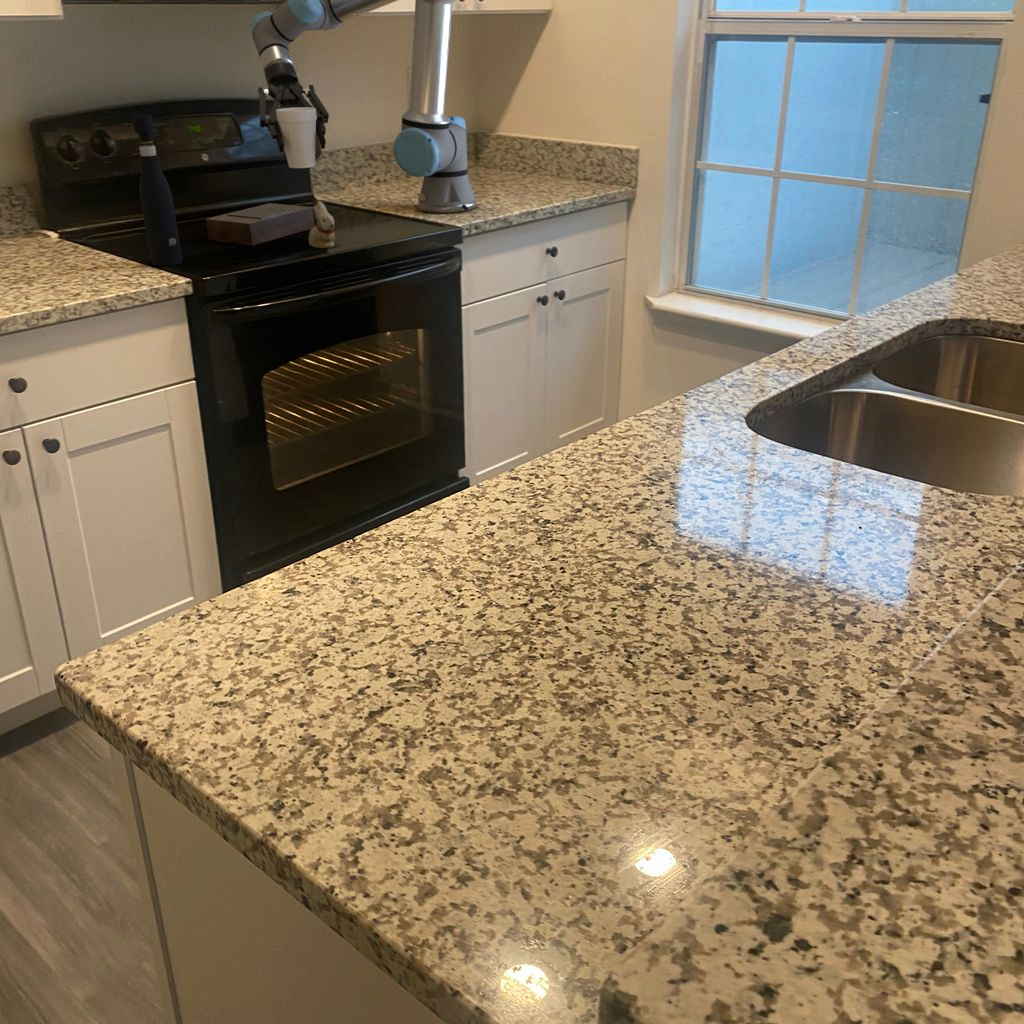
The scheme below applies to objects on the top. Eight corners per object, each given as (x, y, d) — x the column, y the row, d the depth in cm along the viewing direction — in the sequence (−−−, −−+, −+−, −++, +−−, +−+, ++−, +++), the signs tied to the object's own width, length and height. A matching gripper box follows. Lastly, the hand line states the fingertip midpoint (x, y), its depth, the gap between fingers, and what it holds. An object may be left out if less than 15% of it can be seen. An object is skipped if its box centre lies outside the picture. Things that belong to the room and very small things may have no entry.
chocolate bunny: (314, 249, 231) (309, 204, 226) (307, 243, 237) (302, 198, 233) (338, 247, 232) (333, 202, 228) (330, 240, 239) (326, 196, 235)
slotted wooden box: (314, 227, 253) (312, 206, 251) (252, 245, 237) (249, 222, 234) (272, 223, 260) (269, 202, 257) (208, 240, 243) (205, 218, 241)
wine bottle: (158, 259, 226) (131, 114, 212) (186, 259, 226) (162, 113, 212) (148, 266, 220) (120, 117, 207) (177, 266, 220) (151, 117, 206)
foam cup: (326, 163, 254) (320, 107, 248) (315, 169, 246) (309, 111, 240) (288, 163, 255) (282, 107, 249) (277, 169, 247) (270, 111, 241)
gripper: (321, 80, 259) (345, 153, 253) (233, 84, 251) (256, 160, 245) (325, 58, 252) (349, 132, 246) (234, 62, 244) (257, 139, 238)
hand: (303, 146), depth 246 cm, fingers closed on foam cup, 9 cm apart
